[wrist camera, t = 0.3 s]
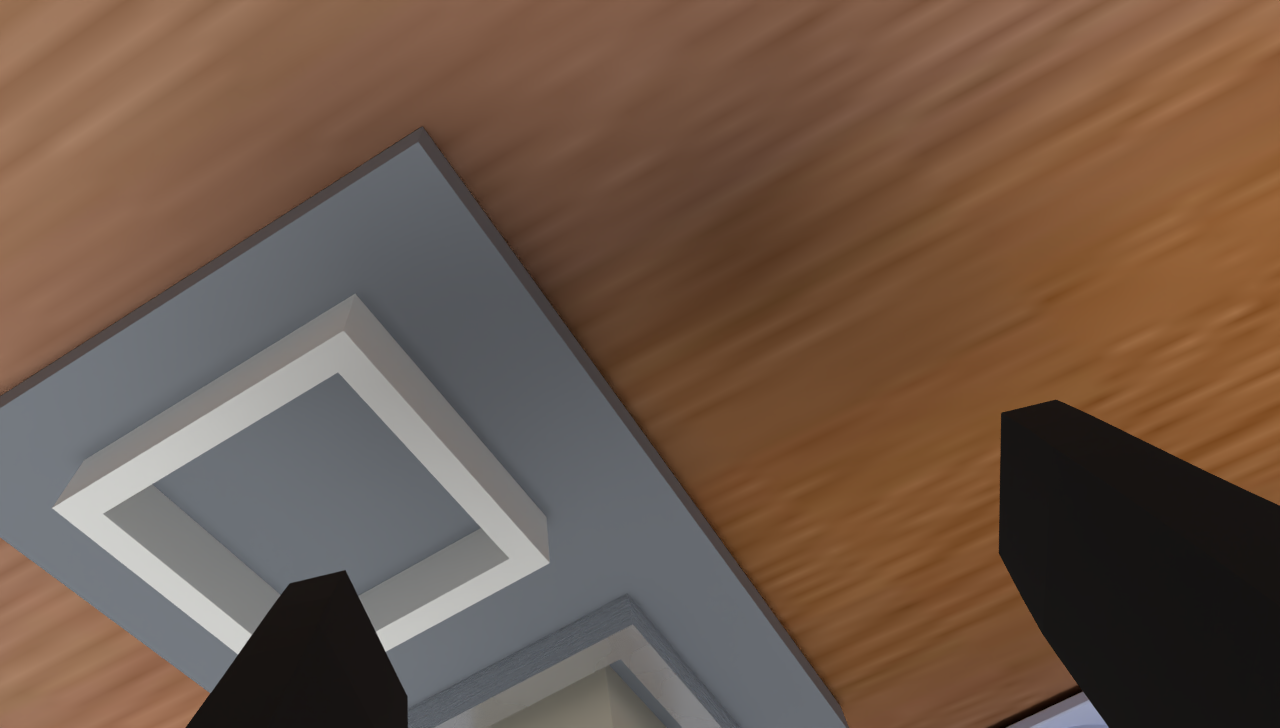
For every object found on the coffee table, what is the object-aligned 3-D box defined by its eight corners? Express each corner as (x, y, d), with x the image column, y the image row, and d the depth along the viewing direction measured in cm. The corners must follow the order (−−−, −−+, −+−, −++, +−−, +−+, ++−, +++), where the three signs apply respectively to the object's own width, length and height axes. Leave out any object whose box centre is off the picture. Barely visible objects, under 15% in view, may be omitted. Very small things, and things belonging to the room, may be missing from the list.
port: (546, 517, 20) (549, 563, 19) (308, 648, 21) (296, 700, 20) (354, 293, 17) (343, 330, 16) (84, 459, 18) (52, 508, 17)
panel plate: (840, 706, 26) (851, 735, 26) (496, 873, 28) (496, 905, 27) (422, 126, 17) (417, 141, 16) (-66, 438, 18) (-94, 467, 17)
